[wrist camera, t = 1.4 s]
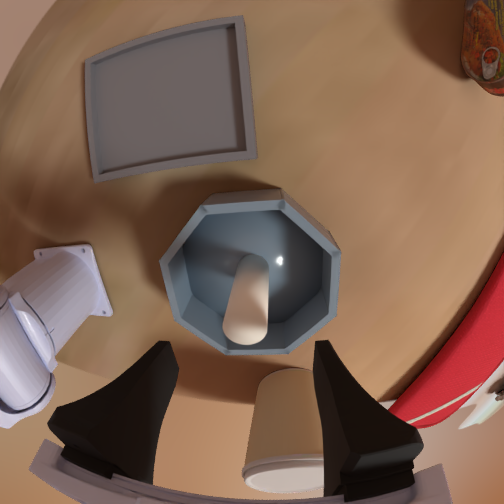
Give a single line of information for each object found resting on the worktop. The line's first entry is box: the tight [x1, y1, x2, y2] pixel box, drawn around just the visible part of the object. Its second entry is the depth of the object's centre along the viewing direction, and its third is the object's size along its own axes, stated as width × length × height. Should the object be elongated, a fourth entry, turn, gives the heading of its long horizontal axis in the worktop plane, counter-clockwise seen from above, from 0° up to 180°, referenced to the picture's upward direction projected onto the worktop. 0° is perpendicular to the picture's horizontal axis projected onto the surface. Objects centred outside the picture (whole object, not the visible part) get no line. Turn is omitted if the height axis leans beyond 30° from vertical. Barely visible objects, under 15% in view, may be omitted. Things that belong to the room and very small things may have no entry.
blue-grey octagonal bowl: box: [159, 188, 341, 355], centre depth 20 cm, size 12×12×4 cm
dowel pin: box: [222, 254, 269, 345], centre depth 18 cm, size 2×2×8 cm
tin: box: [461, 0, 504, 96], centre depth 8 cm, size 15×3×8 cm, turn 162°
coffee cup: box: [242, 368, 324, 493], centre depth 23 cm, size 9×9×12 cm
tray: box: [85, 15, 258, 183], centre depth 17 cm, size 13×11×2 cm
